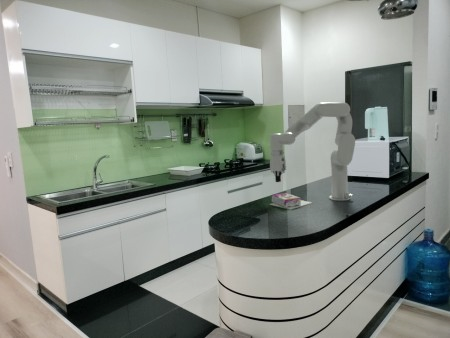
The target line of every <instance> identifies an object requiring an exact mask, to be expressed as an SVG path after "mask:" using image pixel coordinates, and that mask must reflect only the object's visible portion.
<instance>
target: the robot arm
mask: <svg viewBox="0 0 450 338" xmlns="http://www.w3.org/2000/svg"><path fill="white" fill-rule="evenodd" d="M350 112H351V107H350V105H349V104H348V103H347V102H340V101H339V102H328V101H327V102H324V101H323V102H318V103H316V104H315V105H314V106H313V107H312V108H310V109H309V110H308V111H307V112H306V113H305V114H304V115H303V116H301V117H300V118H299V119H298V120H297V121H296V122H295V123H293V124H292V125H291V126H290V127H289V128H287V130H285V131H284V132H283V133H277V132H276V133H271V134H270V135H269V139H270V141H269V143H270V144H269V145H270V155H269V156H270V157H269V168H270V172H271V173H273V174H274V177H275V178H274V179H275V182H276V183H280V182H282V174H285V171H286V170H287V165H286V158H285V155H284V151H283V150H284V149H283V148H284V145H289V146H290V145H292V144H294V143H295V142H296V138H298V136H299V135H300V134H302V133H303V132H305V131H308V130H310V129H311V128H312V127H313V126H314V125H315V124H317V123H318V122H319V121H321V119H322V118H325V117H326V118H327V117H328V118H336V120H337V128H336V133H335V134H336V135H335V138H334V139H335V140H334V143H335V144H336V146H337V149H335V150H333V151H332V152H331V154H330V165H331V166H330V168H331V195H329V196H328V198H329V200H331V201H340V202H341V201H349V200H350V199H352V198H353V197H354V195H353V194H351V193H350V192H349V191H348V166H349V165H350V164H351V163H352V161H353V157H354V152H355V146H356V137H355V136H354V134H353V133H352V128H353V118H352V115H351V113H350Z"/></svg>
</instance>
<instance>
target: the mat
mask: <svg viewBox="0 0 450 338" xmlns="http://www.w3.org/2000/svg"><path fill="white" fill-rule="evenodd" d="M300 201H301V205H299V206H292V207H283V206H280V205H278V204H276V203H273V202H271V203H269V205H270V206H274V207H278V208H283V209H287V210H294V209H298V208H301V207H304V206H307V205H311V204H313V202H311V201H307V200H300Z"/></svg>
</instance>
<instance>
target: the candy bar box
mask: <svg viewBox="0 0 450 338" xmlns="http://www.w3.org/2000/svg"><path fill="white" fill-rule="evenodd" d="M301 199H302V198H301V197H299V196H296V195H293V194H290V193H287V192H285V193H277V194H271V203H276V204H278V205H280V206H283V207H292V206H299V205H301V201H300V200H301Z"/></svg>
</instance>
